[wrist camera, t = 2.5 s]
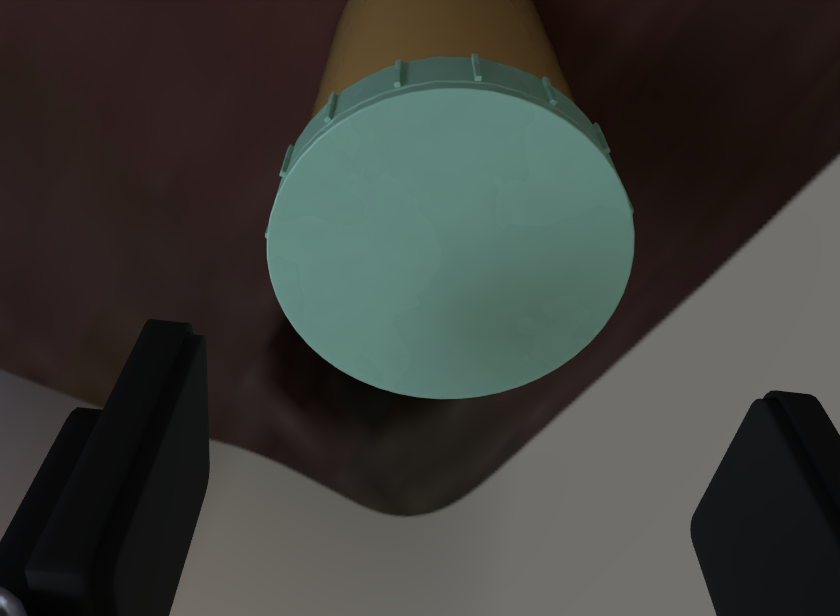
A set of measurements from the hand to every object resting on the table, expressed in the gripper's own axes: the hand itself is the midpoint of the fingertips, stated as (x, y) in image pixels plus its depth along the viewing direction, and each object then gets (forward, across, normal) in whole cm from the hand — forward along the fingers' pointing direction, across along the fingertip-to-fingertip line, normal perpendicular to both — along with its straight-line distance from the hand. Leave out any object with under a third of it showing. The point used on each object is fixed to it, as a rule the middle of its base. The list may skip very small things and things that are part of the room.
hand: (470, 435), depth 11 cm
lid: (+4, 0, 0) cm, 4 cm away
